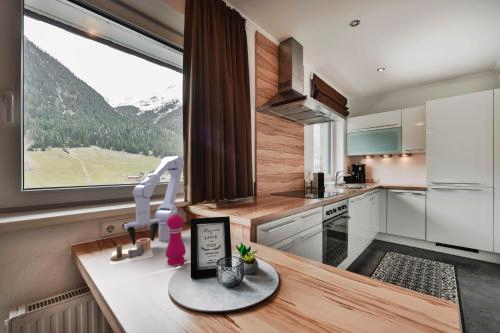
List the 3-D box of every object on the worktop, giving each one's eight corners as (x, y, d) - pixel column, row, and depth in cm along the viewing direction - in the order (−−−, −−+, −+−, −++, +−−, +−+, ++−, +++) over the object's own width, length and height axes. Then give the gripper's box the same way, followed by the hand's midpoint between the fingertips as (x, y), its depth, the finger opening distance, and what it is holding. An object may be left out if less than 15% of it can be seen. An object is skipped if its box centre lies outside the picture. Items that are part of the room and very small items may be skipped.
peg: (128, 254, 91) (127, 241, 91) (127, 258, 86) (127, 246, 86) (111, 257, 88) (111, 244, 88) (110, 262, 83) (109, 249, 83)
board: (150, 246, 101) (150, 245, 101) (153, 258, 87) (153, 256, 87) (112, 253, 94) (112, 251, 94) (109, 267, 80) (109, 265, 80)
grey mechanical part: (143, 251, 93) (143, 245, 93) (144, 255, 89) (144, 248, 89) (128, 254, 90) (128, 247, 90) (128, 258, 86) (128, 251, 86)
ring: (149, 246, 100) (149, 237, 100) (150, 249, 95) (150, 240, 95) (136, 248, 97) (136, 239, 97) (136, 252, 93) (136, 242, 93)
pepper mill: (179, 268, 78) (178, 212, 78) (161, 267, 79) (160, 212, 80) (189, 260, 85) (188, 209, 85) (172, 259, 86) (171, 209, 87)
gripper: (156, 208, 104) (157, 236, 104) (122, 212, 95) (122, 243, 95) (161, 210, 99) (162, 240, 99) (126, 215, 90) (126, 248, 89)
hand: (143, 242), depth 96 cm, fingers open, 7 cm apart
